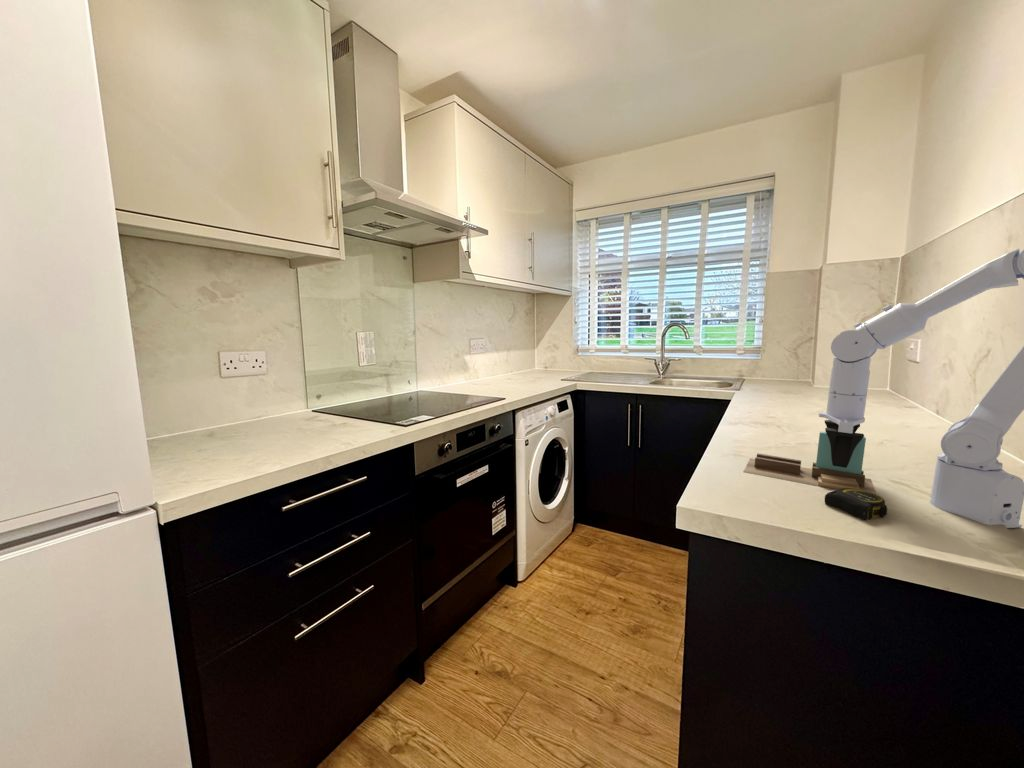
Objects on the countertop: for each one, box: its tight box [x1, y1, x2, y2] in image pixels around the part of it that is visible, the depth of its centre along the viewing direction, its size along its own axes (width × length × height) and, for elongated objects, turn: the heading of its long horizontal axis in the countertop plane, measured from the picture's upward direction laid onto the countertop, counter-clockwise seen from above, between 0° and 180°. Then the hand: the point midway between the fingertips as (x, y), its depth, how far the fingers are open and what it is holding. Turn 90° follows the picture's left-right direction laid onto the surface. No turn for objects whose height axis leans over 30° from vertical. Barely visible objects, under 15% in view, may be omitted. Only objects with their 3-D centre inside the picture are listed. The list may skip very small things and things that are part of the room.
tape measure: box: [824, 488, 888, 521], centre depth 68 cm, size 7×7×4 cm
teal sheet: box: [815, 430, 867, 474], centre depth 81 cm, size 2×7×9 cm, turn 54°
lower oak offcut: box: [818, 477, 859, 490], centre depth 77 cm, size 3×6×1 cm, turn 54°
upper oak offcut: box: [820, 474, 858, 488], centre depth 77 cm, size 3×5×1 cm, turn 59°
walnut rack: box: [743, 452, 877, 495], centre depth 83 cm, size 11×21×3 cm, turn 54°
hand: (838, 461), depth 81 cm, fingers open, 7 cm apart
